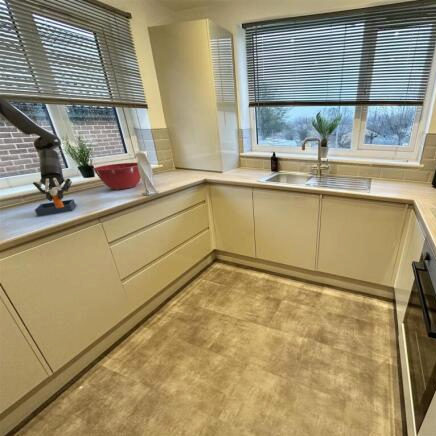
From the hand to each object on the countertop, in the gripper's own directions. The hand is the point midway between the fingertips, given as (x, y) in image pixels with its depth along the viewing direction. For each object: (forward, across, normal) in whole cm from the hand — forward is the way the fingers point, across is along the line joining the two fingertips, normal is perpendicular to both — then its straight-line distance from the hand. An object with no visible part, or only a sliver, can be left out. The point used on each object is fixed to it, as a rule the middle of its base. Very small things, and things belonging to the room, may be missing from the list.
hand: (55, 199), depth 111 cm
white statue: (-10, +39, +25) cm, 47 cm away
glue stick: (+2, 0, +5) cm, 5 cm away
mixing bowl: (-33, +24, +48) cm, 63 cm away
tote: (-4, -5, +19) cm, 20 cm away
